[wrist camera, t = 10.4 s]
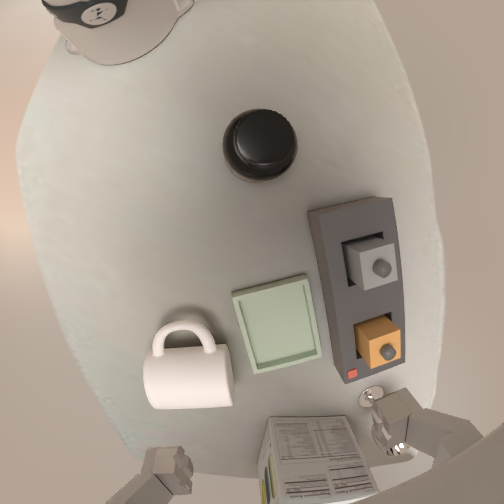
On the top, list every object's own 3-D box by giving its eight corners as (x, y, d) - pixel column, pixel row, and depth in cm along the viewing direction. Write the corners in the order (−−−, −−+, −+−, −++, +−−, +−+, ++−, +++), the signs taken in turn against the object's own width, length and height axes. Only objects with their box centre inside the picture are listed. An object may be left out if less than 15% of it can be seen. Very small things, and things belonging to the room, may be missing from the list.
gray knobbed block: (336, 241, 35) (364, 255, 27) (366, 233, 35) (399, 245, 27) (342, 272, 36) (369, 294, 28) (371, 264, 36) (403, 283, 28)
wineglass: (349, 398, 42) (375, 449, 30) (378, 376, 41) (412, 423, 29) (363, 414, 43) (389, 463, 31) (391, 394, 42) (423, 439, 30)
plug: (348, 316, 37) (373, 345, 29) (375, 307, 37) (405, 333, 29) (351, 342, 38) (374, 374, 30) (377, 333, 38) (405, 362, 30)
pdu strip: (307, 211, 36) (318, 215, 30) (373, 196, 36) (393, 198, 30) (334, 364, 40) (345, 385, 35) (389, 345, 40) (405, 362, 35)
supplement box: (267, 415, 41) (280, 506, 24) (346, 414, 42) (383, 492, 25) (255, 464, 44) (262, 543, 27) (325, 462, 45) (348, 533, 28)
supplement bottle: (223, 182, 34) (216, 177, 23) (226, 125, 33) (221, 93, 21) (282, 185, 35) (305, 181, 23) (284, 128, 33) (307, 99, 22)
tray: (231, 292, 37) (231, 297, 35) (304, 273, 37) (308, 278, 35) (253, 366, 39) (254, 374, 37) (318, 349, 39) (322, 356, 37)
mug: (234, 381, 40) (235, 418, 32) (167, 386, 40) (155, 421, 32) (221, 304, 37) (217, 332, 30) (146, 311, 37) (127, 339, 29)
